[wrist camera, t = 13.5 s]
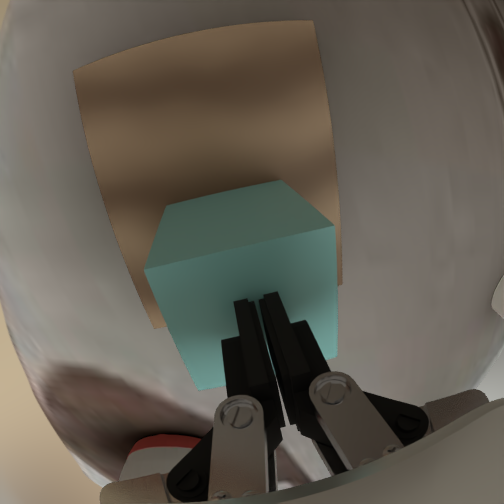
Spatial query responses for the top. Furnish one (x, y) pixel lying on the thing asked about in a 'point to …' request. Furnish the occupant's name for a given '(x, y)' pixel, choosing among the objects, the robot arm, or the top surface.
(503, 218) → the top surface
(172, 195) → the board
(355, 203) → the top surface
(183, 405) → the top surface
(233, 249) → the mint green cube
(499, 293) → the cylindrical container
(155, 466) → the citrus juicer
